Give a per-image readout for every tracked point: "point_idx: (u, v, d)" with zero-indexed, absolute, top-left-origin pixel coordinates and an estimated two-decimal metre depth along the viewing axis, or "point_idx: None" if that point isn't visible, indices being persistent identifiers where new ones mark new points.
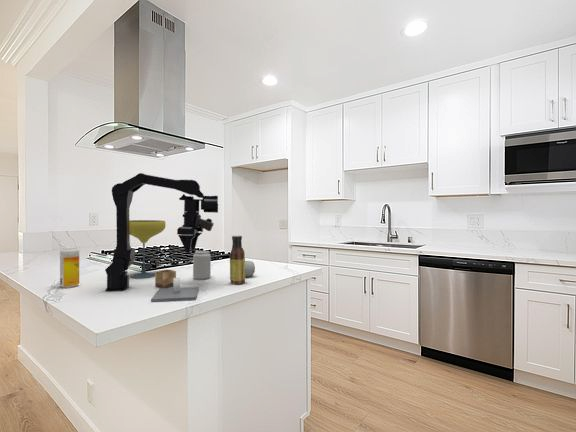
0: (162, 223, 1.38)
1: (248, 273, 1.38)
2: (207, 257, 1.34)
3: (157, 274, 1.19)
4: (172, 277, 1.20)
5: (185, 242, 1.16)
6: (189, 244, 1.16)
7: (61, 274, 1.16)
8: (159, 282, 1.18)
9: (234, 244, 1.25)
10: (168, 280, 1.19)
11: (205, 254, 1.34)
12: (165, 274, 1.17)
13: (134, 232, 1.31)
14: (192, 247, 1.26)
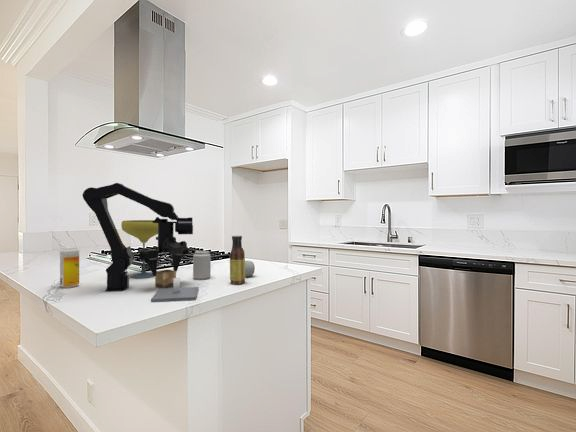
0: None
1: (248, 273, 1.38)
2: (207, 257, 1.34)
3: (157, 274, 1.19)
4: (172, 277, 1.20)
5: (150, 265, 1.16)
6: (153, 268, 1.15)
7: (61, 274, 1.16)
8: (159, 282, 1.18)
9: (234, 244, 1.25)
10: (168, 280, 1.19)
11: (205, 254, 1.34)
12: (165, 274, 1.17)
13: (134, 232, 1.31)
14: (174, 269, 1.24)
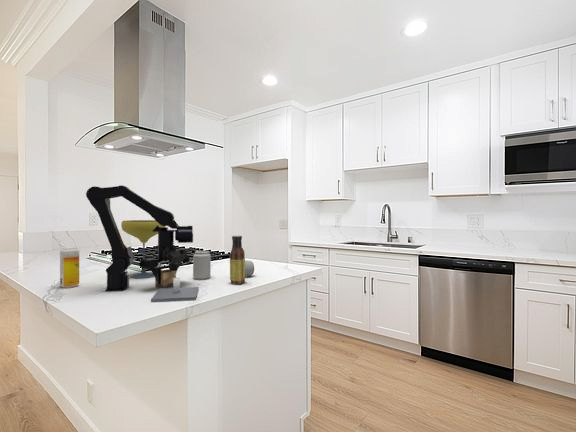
0: None
1: (248, 273, 1.38)
2: (207, 257, 1.34)
3: None
4: (172, 277, 1.20)
5: (154, 273, 1.18)
6: (157, 276, 1.17)
7: (61, 274, 1.16)
8: None
9: (234, 244, 1.25)
10: (168, 280, 1.19)
11: (205, 254, 1.34)
12: (165, 274, 1.17)
13: (134, 232, 1.31)
14: None
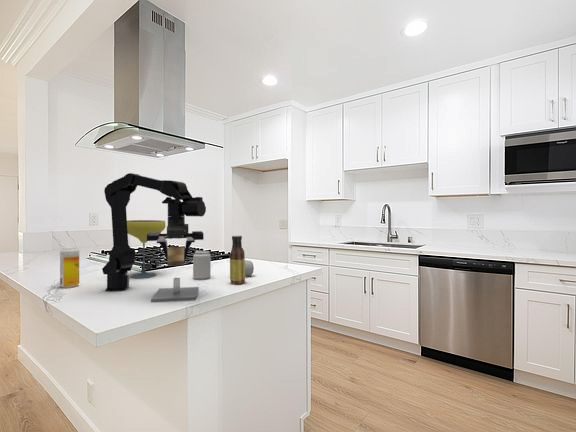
0: (162, 223, 1.38)
1: (247, 272, 1.39)
2: (207, 257, 1.34)
3: None
4: (179, 254, 1.07)
5: None
6: (164, 251, 1.07)
7: (61, 274, 1.16)
8: None
9: (234, 244, 1.25)
10: (173, 257, 1.07)
11: (205, 254, 1.34)
12: (169, 250, 1.06)
13: (134, 232, 1.31)
14: (184, 256, 1.10)
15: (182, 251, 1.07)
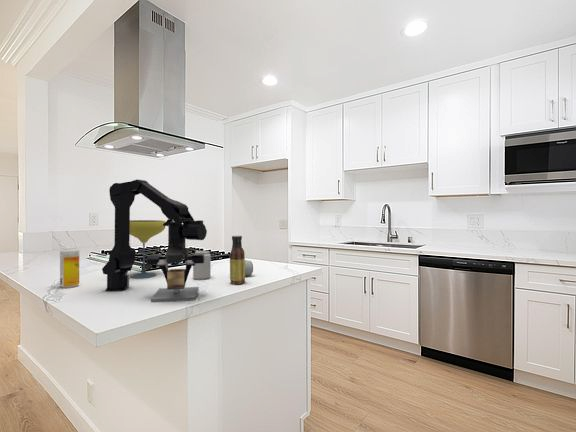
0: (162, 223, 1.38)
1: (247, 272, 1.39)
2: (207, 257, 1.34)
3: None
4: (179, 278, 1.06)
5: None
6: None
7: (61, 274, 1.16)
8: None
9: (234, 244, 1.25)
10: (173, 281, 1.05)
11: (205, 254, 1.34)
12: (169, 273, 1.05)
13: (134, 232, 1.31)
14: None
15: (182, 275, 1.06)
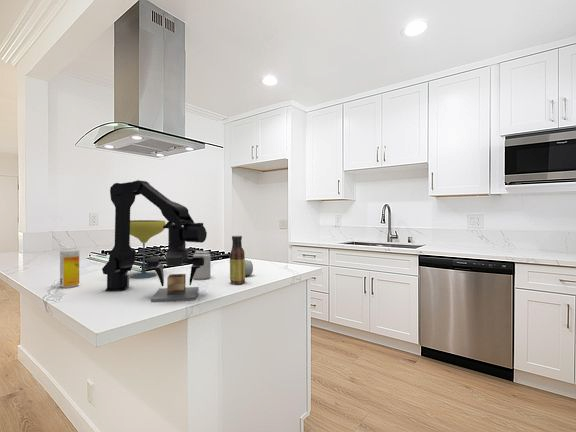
0: (162, 223, 1.38)
1: (247, 272, 1.39)
2: (207, 257, 1.34)
3: None
4: (179, 283, 1.06)
5: None
6: None
7: (61, 274, 1.16)
8: None
9: (234, 244, 1.25)
10: (173, 286, 1.05)
11: (205, 254, 1.34)
12: (169, 279, 1.05)
13: (134, 232, 1.31)
14: None
15: (182, 280, 1.06)
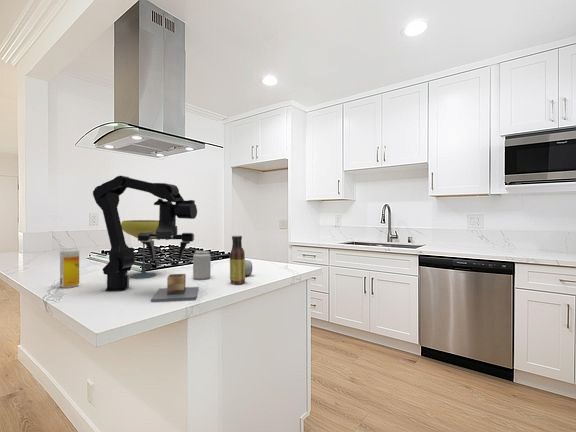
0: None
1: (246, 272, 1.40)
2: (207, 257, 1.34)
3: None
4: (179, 283, 1.06)
5: None
6: None
7: (61, 274, 1.16)
8: None
9: (234, 244, 1.25)
10: (173, 286, 1.05)
11: (205, 254, 1.34)
12: (169, 279, 1.05)
13: (134, 232, 1.31)
14: (179, 257, 1.14)
15: (182, 280, 1.06)
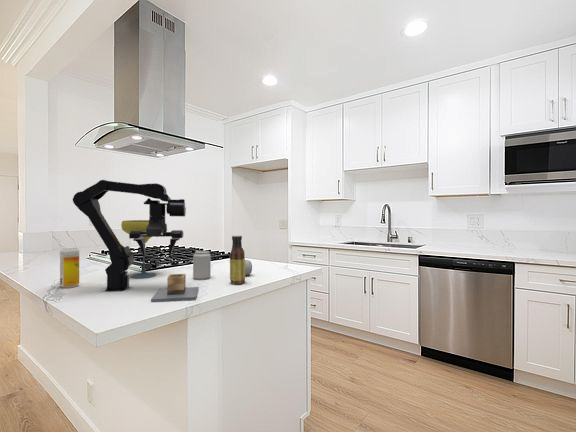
0: None
1: (246, 272, 1.40)
2: (207, 257, 1.34)
3: None
4: (179, 283, 1.06)
5: None
6: None
7: (61, 274, 1.16)
8: None
9: (234, 244, 1.25)
10: (173, 286, 1.05)
11: (205, 254, 1.34)
12: (169, 279, 1.05)
13: None
14: (169, 253, 1.20)
15: (182, 280, 1.06)
